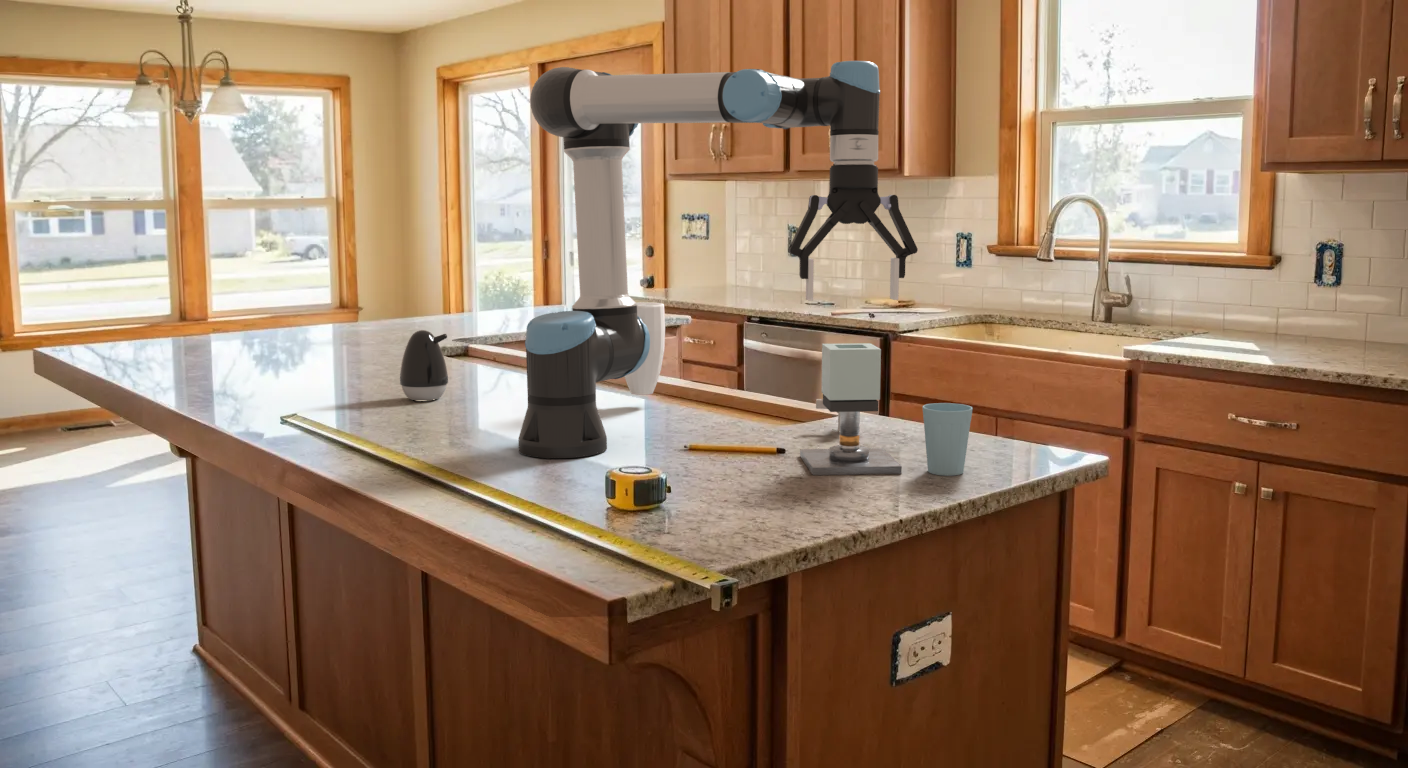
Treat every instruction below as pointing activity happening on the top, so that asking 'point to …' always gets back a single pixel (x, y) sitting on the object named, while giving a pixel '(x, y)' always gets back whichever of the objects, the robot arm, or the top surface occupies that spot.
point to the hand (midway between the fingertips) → (851, 299)
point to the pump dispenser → (423, 367)
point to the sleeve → (851, 371)
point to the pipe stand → (849, 454)
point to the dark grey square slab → (850, 405)
